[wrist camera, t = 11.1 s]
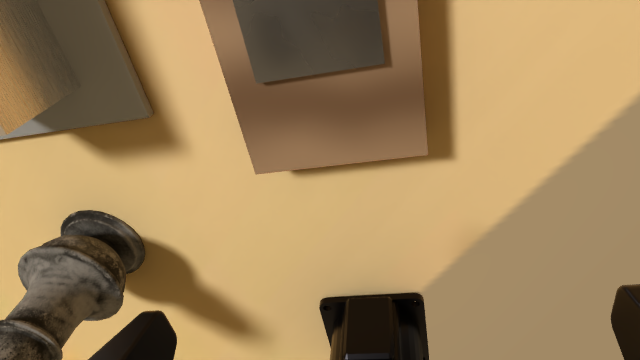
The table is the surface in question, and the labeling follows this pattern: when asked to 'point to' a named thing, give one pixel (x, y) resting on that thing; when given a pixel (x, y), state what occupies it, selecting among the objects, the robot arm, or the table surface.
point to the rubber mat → (89, 71)
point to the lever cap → (29, 65)
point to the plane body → (322, 79)
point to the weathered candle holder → (70, 284)
